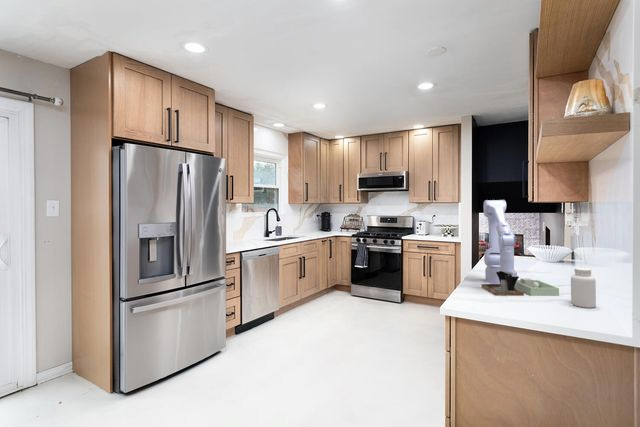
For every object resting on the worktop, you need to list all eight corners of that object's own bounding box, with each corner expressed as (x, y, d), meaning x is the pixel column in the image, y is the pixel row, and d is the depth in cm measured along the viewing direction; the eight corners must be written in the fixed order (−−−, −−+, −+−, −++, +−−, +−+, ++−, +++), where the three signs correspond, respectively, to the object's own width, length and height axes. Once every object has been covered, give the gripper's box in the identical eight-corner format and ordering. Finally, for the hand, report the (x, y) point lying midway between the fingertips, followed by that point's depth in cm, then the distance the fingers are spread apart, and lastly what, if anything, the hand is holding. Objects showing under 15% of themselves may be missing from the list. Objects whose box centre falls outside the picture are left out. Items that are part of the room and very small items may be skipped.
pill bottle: (569, 301, 140) (569, 266, 139) (593, 304, 135) (593, 268, 135) (572, 306, 133) (572, 269, 132) (597, 309, 129) (597, 271, 128)
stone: (500, 290, 158) (500, 279, 158) (509, 290, 158) (509, 279, 157) (504, 292, 154) (504, 281, 154) (513, 292, 154) (513, 281, 153)
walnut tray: (481, 287, 164) (481, 283, 164) (506, 288, 163) (506, 284, 163) (496, 296, 148) (496, 292, 148) (523, 296, 147) (523, 292, 147)
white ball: (530, 287, 161) (530, 281, 161) (537, 287, 161) (537, 281, 161) (534, 288, 158) (534, 282, 158) (540, 288, 158) (540, 282, 158)
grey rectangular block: (520, 288, 160) (520, 278, 159) (529, 288, 159) (529, 278, 159) (524, 290, 156) (524, 280, 155) (533, 290, 155) (533, 280, 155)
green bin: (512, 288, 163) (512, 280, 163) (538, 288, 162) (538, 280, 162) (530, 296, 147) (530, 288, 147) (559, 297, 146) (559, 288, 146)
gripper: (491, 257, 163) (491, 284, 163) (505, 262, 148) (505, 292, 149) (506, 257, 162) (506, 284, 163) (521, 262, 148) (521, 292, 148)
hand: (507, 288), depth 156 cm, fingers open, 6 cm apart
